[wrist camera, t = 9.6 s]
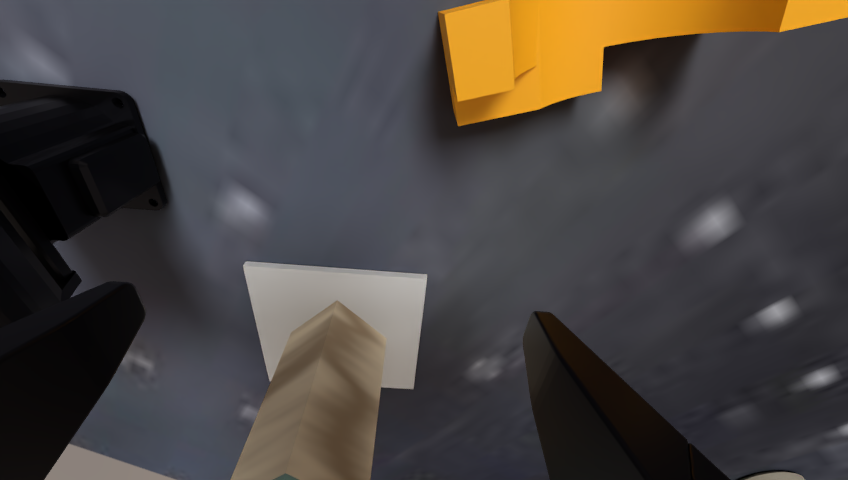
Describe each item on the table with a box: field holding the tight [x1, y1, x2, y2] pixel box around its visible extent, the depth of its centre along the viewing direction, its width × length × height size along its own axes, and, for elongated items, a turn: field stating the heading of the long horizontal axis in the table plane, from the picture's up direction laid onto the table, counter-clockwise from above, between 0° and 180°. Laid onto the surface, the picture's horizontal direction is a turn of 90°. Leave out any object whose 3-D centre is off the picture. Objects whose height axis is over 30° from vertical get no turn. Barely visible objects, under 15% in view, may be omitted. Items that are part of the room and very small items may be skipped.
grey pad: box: [243, 261, 427, 389], centre depth 27 cm, size 12×12×1 cm
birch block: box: [231, 300, 387, 480], centre depth 22 cm, size 5×5×12 cm
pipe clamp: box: [438, 0, 848, 126], centre depth 14 cm, size 12×4×6 cm, turn 102°
